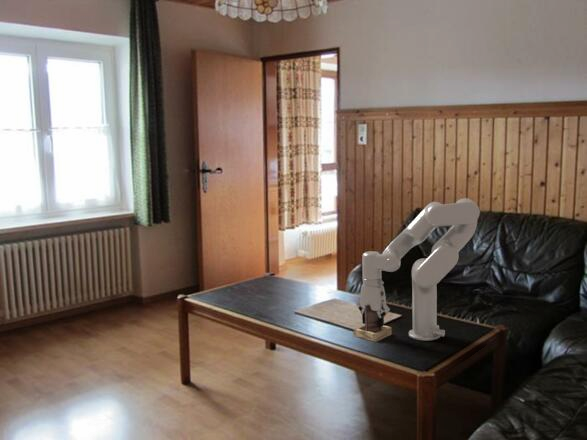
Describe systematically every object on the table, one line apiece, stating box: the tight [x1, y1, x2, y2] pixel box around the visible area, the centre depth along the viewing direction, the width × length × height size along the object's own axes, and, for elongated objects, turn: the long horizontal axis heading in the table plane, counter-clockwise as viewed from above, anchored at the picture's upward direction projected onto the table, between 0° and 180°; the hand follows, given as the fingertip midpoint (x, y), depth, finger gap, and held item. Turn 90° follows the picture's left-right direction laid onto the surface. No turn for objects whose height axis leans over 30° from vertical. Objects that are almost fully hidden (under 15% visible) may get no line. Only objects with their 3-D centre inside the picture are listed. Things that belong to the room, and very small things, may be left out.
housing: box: [353, 324, 393, 343], centre depth 248 cm, size 11×11×3 cm
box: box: [365, 304, 381, 333], centre depth 247 cm, size 6×4×12 cm
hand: (373, 324), depth 247 cm, fingers closed on box, 6 cm apart
